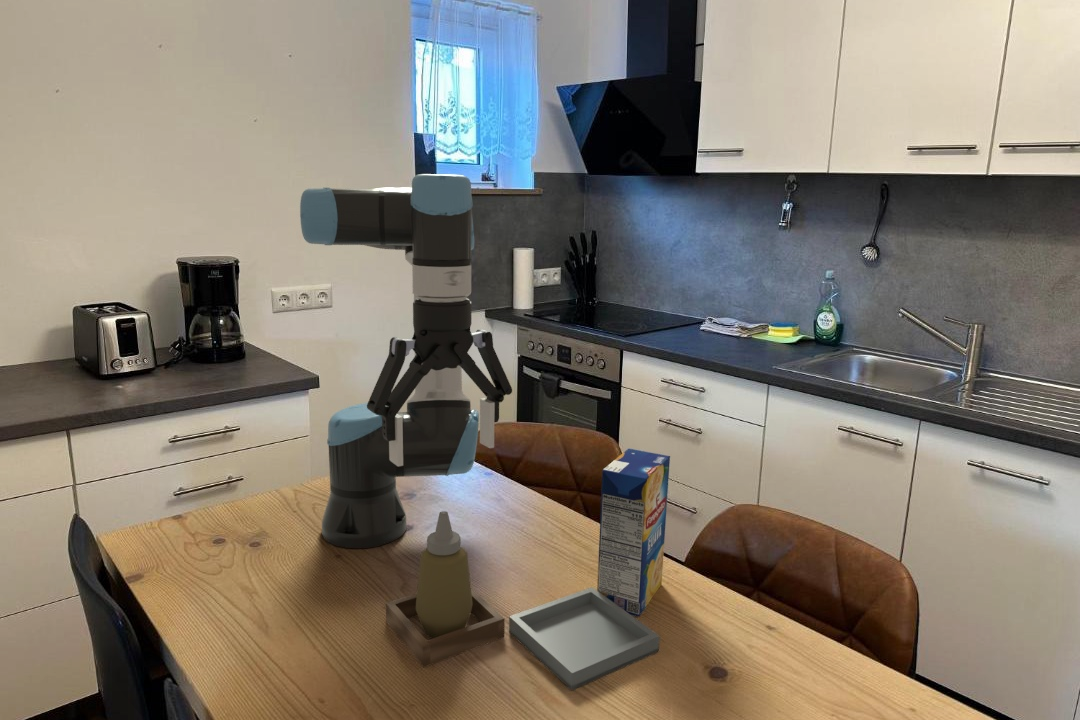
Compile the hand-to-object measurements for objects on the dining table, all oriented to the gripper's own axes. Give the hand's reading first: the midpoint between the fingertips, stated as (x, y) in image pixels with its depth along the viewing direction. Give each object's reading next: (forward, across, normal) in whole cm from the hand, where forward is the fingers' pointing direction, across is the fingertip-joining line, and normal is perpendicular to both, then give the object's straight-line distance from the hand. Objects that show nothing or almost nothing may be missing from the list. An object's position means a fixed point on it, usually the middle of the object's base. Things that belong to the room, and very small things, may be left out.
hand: (443, 454), depth 99 cm
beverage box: (+27, +29, -7) cm, 40 cm away
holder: (+27, 0, 0) cm, 27 cm away
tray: (+27, +15, -13) cm, 33 cm away
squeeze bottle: (+27, 0, 0) cm, 27 cm away
